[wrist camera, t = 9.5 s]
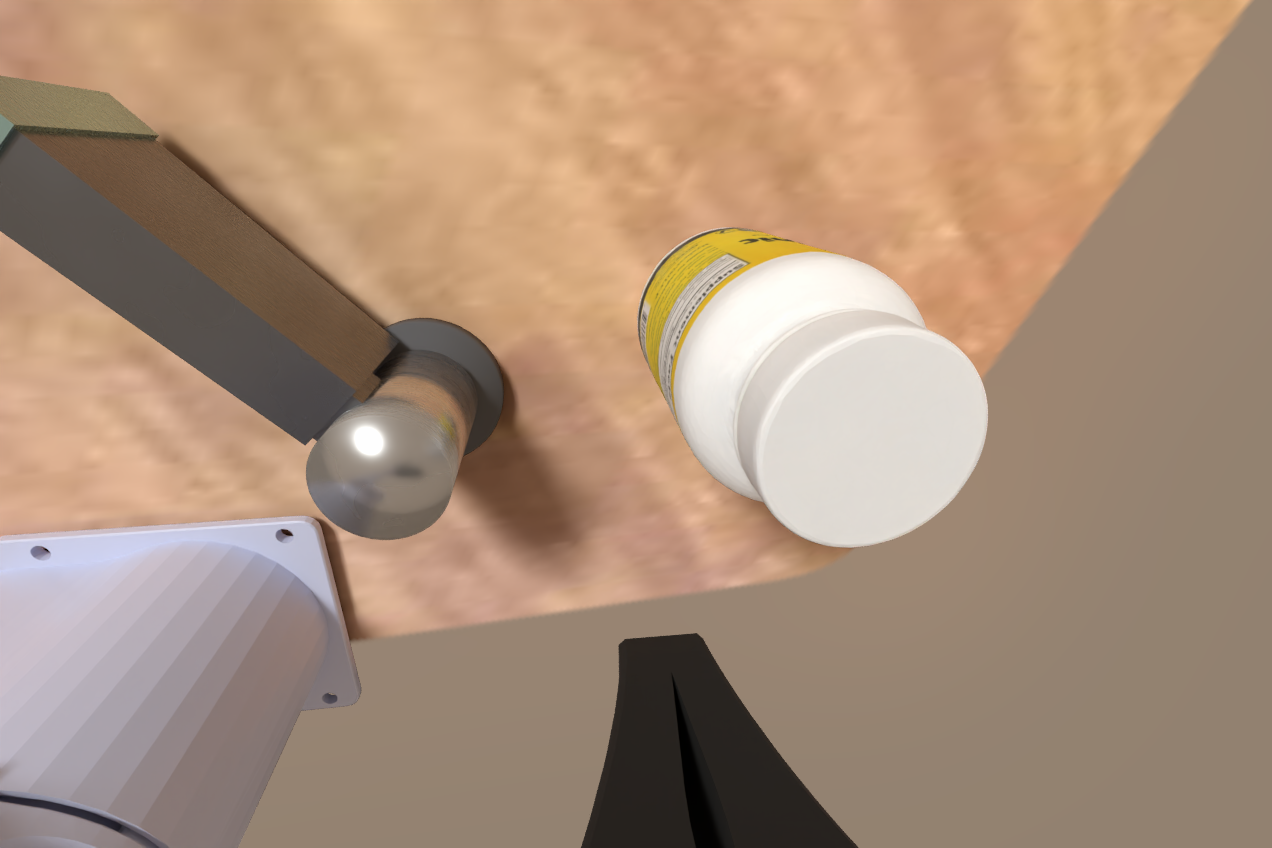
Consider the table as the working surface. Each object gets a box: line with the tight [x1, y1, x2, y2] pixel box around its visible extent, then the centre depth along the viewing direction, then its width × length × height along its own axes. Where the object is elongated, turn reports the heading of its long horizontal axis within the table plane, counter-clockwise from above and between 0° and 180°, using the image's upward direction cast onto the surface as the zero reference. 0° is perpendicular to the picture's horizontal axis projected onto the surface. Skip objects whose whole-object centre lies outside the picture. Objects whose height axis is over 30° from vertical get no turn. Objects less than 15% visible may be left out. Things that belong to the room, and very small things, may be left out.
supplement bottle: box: [637, 227, 988, 548], centre depth 14 cm, size 5×5×10 cm
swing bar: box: [0, 76, 478, 540], centre depth 14 cm, size 11×3×5 cm, turn 43°
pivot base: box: [372, 318, 504, 456], centre depth 18 cm, size 4×4×1 cm
